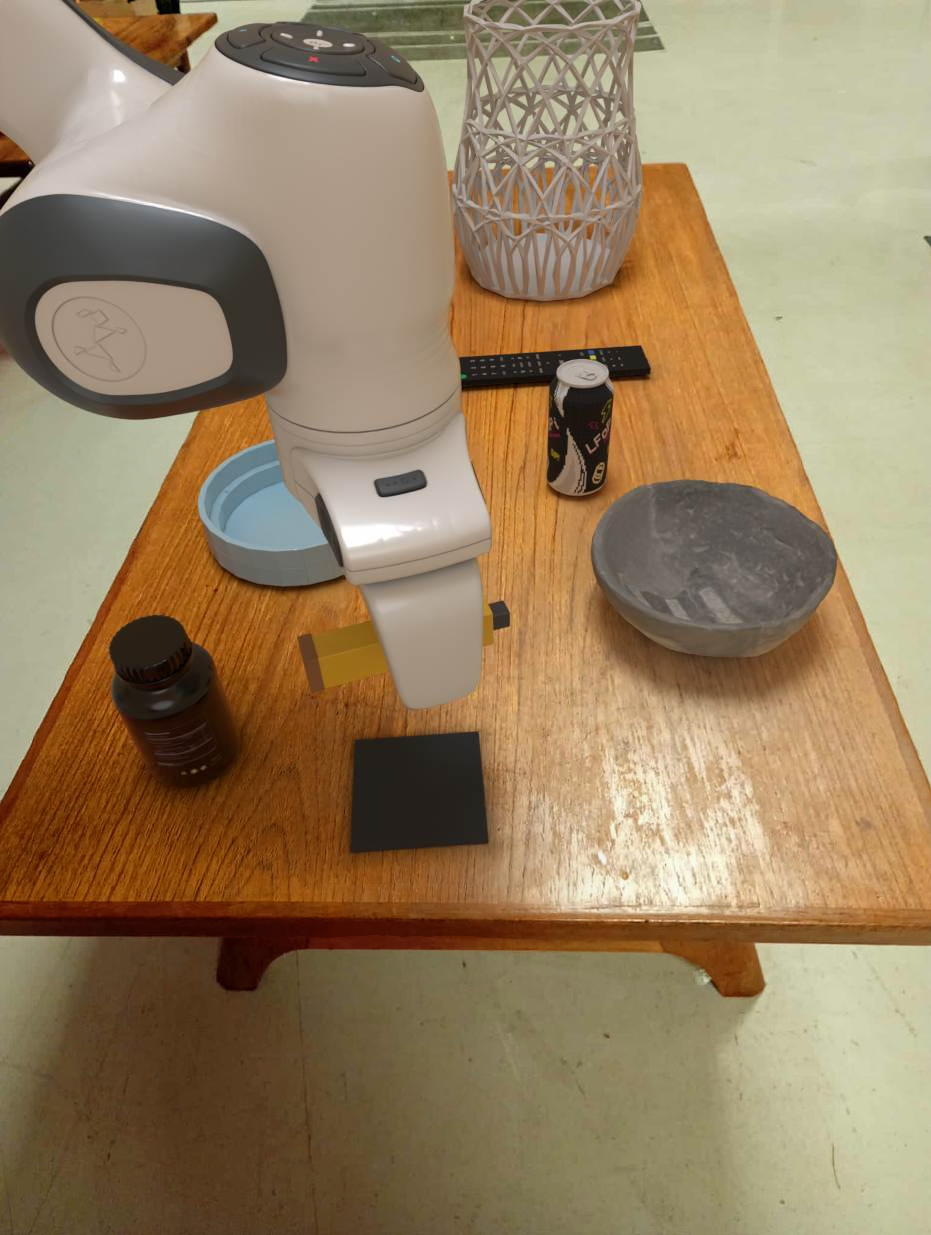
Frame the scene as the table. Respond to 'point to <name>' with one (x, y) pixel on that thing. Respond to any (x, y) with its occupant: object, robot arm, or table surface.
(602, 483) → the beverage can
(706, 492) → the bowl
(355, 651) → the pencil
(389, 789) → the mat
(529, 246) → the vase
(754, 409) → the table surface
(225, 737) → the supplement bottle
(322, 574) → the blue bowl
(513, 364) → the remote control
